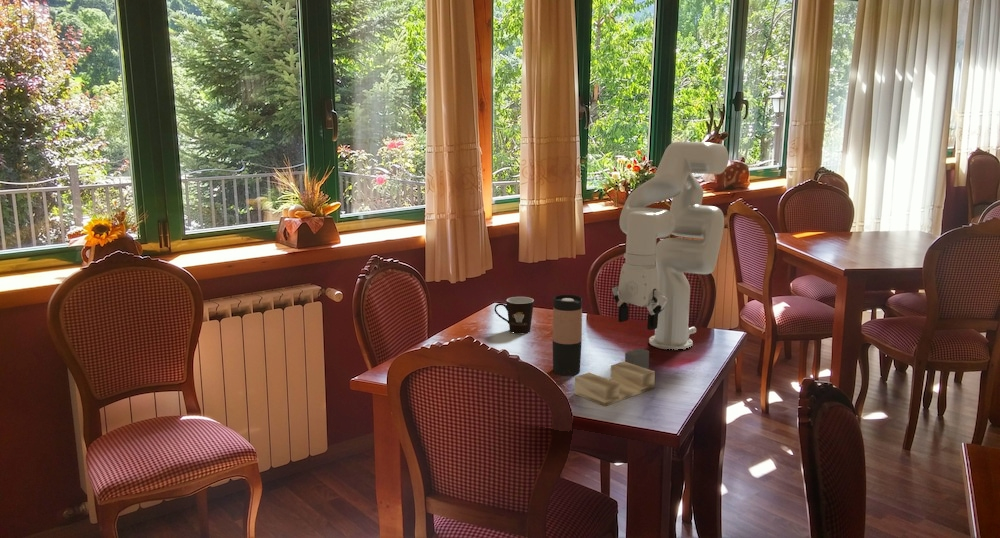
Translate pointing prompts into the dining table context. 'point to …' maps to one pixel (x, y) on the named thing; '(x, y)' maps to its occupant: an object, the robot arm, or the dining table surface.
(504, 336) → the dining table surface
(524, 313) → the coffee mug
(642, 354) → the tab
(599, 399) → the notched board
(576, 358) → the travel mug
